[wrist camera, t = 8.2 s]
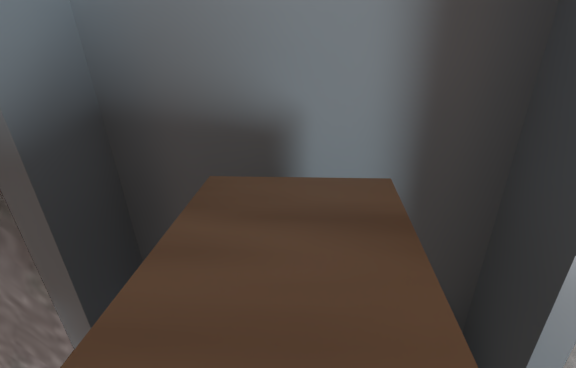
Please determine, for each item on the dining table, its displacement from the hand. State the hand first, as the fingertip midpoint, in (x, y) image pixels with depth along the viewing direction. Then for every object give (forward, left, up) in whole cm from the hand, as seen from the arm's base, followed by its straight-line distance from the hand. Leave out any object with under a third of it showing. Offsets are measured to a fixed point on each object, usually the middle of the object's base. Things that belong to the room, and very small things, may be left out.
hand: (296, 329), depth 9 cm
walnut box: (0, 0, -2) cm, 2 cm away
